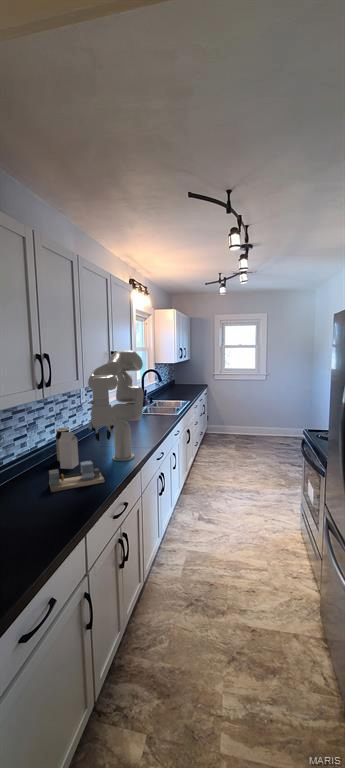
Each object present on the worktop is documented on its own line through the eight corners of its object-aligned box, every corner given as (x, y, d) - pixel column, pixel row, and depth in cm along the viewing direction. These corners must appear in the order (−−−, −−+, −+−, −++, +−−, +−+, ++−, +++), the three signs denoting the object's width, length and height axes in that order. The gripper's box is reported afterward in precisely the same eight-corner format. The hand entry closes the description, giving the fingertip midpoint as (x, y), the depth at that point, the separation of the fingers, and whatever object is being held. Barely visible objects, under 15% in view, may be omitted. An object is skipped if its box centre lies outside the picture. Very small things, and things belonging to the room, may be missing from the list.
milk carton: (72, 469, 184) (70, 434, 182) (60, 468, 185) (58, 434, 183) (78, 464, 191) (76, 430, 189) (67, 464, 192) (64, 430, 190)
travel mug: (60, 457, 204) (58, 427, 203) (73, 457, 204) (71, 427, 202) (55, 462, 197) (53, 431, 195) (69, 461, 196) (67, 430, 194)
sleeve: (81, 476, 168) (80, 462, 167) (91, 474, 170) (90, 460, 169) (83, 480, 162) (82, 465, 162) (94, 478, 164) (93, 464, 164)
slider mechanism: (49, 484, 164) (48, 469, 163) (100, 475, 174) (99, 460, 173) (51, 492, 155) (50, 475, 154) (104, 482, 165) (103, 466, 164)
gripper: (84, 405, 159) (87, 444, 161) (120, 401, 166) (122, 439, 168) (81, 403, 166) (84, 440, 168) (116, 399, 173) (118, 435, 174)
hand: (103, 439), depth 168 cm, fingers open, 4 cm apart
